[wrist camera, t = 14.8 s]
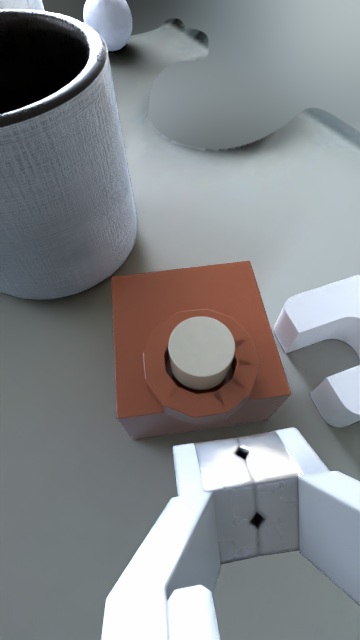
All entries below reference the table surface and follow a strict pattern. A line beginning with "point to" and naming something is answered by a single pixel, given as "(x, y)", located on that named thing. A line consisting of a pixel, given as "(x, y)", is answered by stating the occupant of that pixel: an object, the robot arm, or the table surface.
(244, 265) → the orange push button block
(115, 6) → the perfume bottle
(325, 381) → the tape dispenser
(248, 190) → the table surface
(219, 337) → the round white push button
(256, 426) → the table surface
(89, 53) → the planter
